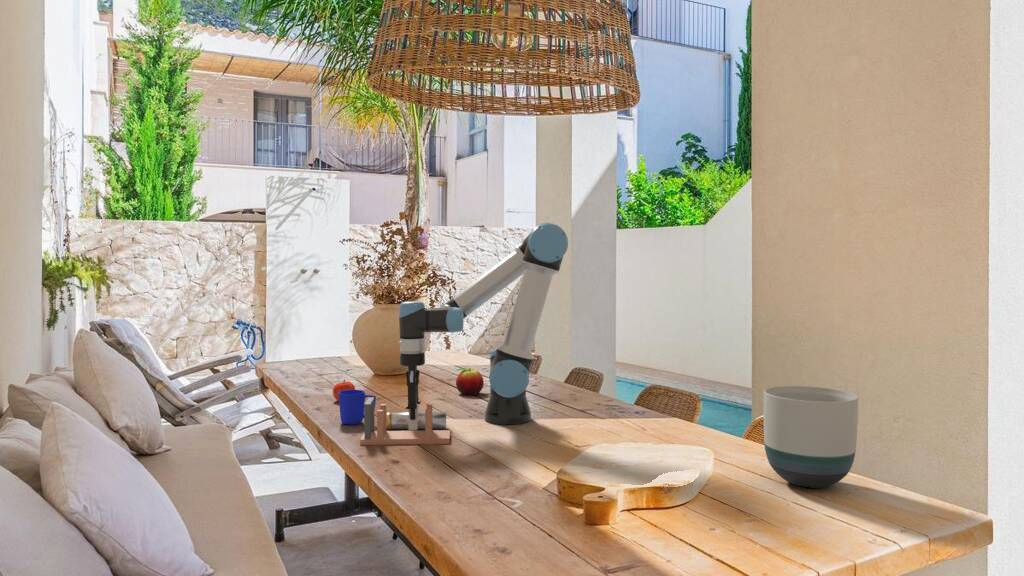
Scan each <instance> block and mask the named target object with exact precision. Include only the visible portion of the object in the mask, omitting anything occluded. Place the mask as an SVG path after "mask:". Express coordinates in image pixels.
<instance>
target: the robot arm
mask: <svg viewBox="0 0 1024 576" xmlns="http://www.w3.org/2000/svg"><path fill="white" fill-rule="evenodd" d="M568 247H569V240H568V236H567V234H566V232H565V230H564V229H563V228H562V227H561V226H559V225H558V224H555V223H550V222H544V223H540V224H538V225H536V226H535V227H534V228H533V229H532V230H531V231H530V233H529V234H528V235H527V237H525V238H524V239H523V240H522V241H521V242H519V243H518V244H517V245H516V246H515V250H514V251H513V252H512V253H510V254H509V255H508V256H506V257H505V258H504V259H503V260H501V261H500V262H498V263H497V264H496V265H494V266H493V267H492V268H491V269H489V270H488V271H486V272H485V273H484V274H482V275H481V276H480V277H478V278H477V279H476V280H475V281H473V282H472V283H470V284H469V285H468V286H467V287H465V288H464V289H463V290H461V291H459V293H458V294H457V293H456V295H455V296H453V297H452V298H451V299H450V300H448V301H446V302H445V303H444V304H442V305H441V306H439V307H425V303H424V302H423V301H419V300H418V301H416V300H415V301H413V300H412V301H402V302H401V303H400V304H399V315H398V321H399V322H398V324H399V325H398V326H399V341H398V342H397V345H398V346H399V350H400V354H399V358H400V359H399V361H400V362H399V363H400V366H403V367H408V370H406V371H405V377H406V386H407V406H406V407H405V409H406V410H407V413H408V423H409V429H408V431H419V429H418V414H417V412H419V408H420V407H419V405H421V401H419V399H420V398H419V383H420V370H419V369H418V367H419V366H424V365H425V363H426V353H425V350H426V339H425V338H426V337H425V333H459V332H460V333H461V332H463V330H464V319H465V318H466V317H468V316H469V315H471V314H472V313H473V312H474V311H476V310H478V308H480V307H482V306H483V305H484V304H485V303H486V302H488V301H489V300H491V299H492V298H493V297H495V296H496V295H497V294H498V293H500V292H501V291H503V290H504V289H505V288H507V287H508V286H509V285H511V284H512V283H513V282H515V281H516V280H518V279H519V278H521V276H522V279H521V283H520V286H519V289H518V293H517V297H516V299H515V300H516V301H515V303H514V307H513V311H512V313H511V316H510V321H509V324H508V328H507V331H506V335H505V339H504V341H503V342H504V343H502V344H501V345H499V346H497V347H496V348H497V349H492V350H491V351H490V356H489V360H490V362H489V363H490V364H489V365H490V367H489V371H490V372H489V377H488V378H489V385H490V386H489V391H490V393H489V399H488V402H487V405H486V408H485V411H484V420H485V421H486V422H487V423H488V422H489V423H491V424H498V425H517V424H518V425H520V424H524V423H529V422H531V421H532V411H531V408H530V405H529V402H528V398H527V388H528V385H529V383H530V374H531V370H532V367H533V366H532V365H533V362H534V358H535V357H534V355H533V353H532V347H533V344H534V341H535V337H536V334H537V331H538V326H539V324H540V321H541V317H542V314H543V310H544V306H545V302H546V299H547V296H548V293H549V291H550V290H549V289H550V286H551V283H552V278H553V276H555V275H556V274H558V273H560V269H561V265H562V263H563V259H564V255H565V254H566V253H567V251H568Z"/></svg>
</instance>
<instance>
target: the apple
mask: <svg viewBox="0 0 1024 576" xmlns="http://www.w3.org/2000/svg"><path fill="white" fill-rule="evenodd" d="M344 390H356V387H355V385H354V384H353V382H351V381H345V379H343V382H339V383H336V384H335V385H334V386H333V388H332V395H333V398H334V399H335V400H336V401H338V402H339V394H338V393H339V392H340V391H344Z"/></svg>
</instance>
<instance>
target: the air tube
mask: <svg viewBox="0 0 1024 576" xmlns="http://www.w3.org/2000/svg"><path fill="white" fill-rule="evenodd" d="M417 414H418V430H425V411H424V412H423V411H422V412H417ZM392 430H409V423H408V412H386V431H392ZM432 430H447V412H446V411H444V412H443V411H442V412H439V411H438V412H437V411H432Z"/></svg>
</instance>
